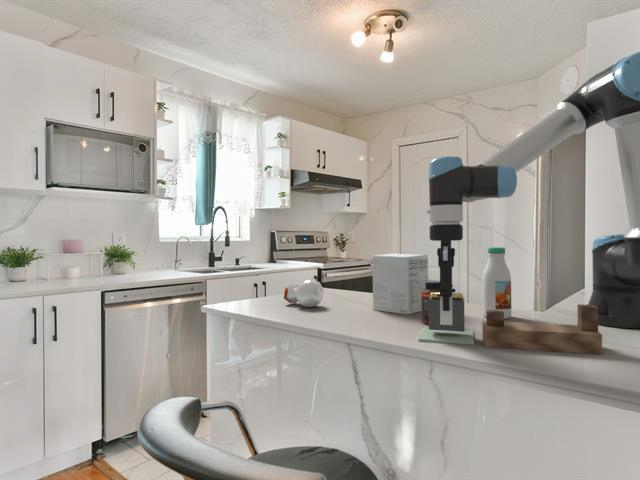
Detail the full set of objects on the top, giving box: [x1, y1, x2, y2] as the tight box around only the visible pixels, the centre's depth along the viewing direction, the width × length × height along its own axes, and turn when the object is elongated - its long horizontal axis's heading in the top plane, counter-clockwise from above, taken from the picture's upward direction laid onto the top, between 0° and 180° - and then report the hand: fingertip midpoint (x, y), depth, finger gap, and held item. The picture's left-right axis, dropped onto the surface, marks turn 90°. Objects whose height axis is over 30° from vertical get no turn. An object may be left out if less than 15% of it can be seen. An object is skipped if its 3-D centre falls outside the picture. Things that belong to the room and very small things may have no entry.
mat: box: [417, 326, 475, 346], centre depth 102 cm, size 12×12×1 cm
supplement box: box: [371, 253, 429, 315], centre depth 136 cm, size 13×13×18 cm
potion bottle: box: [283, 278, 325, 308], centre depth 145 cm, size 9×10×15 cm
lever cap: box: [428, 292, 466, 332], centre depth 101 cm, size 8×5×8 cm, turn 72°
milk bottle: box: [481, 246, 512, 320], centre depth 123 cm, size 8×8×20 cm
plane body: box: [482, 304, 603, 355], centre depth 93 cm, size 22×8×9 cm, turn 72°
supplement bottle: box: [421, 280, 440, 325], centre depth 116 cm, size 6×6×11 cm
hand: (446, 321), depth 101 cm, fingers closed on lever cap, 5 cm apart
